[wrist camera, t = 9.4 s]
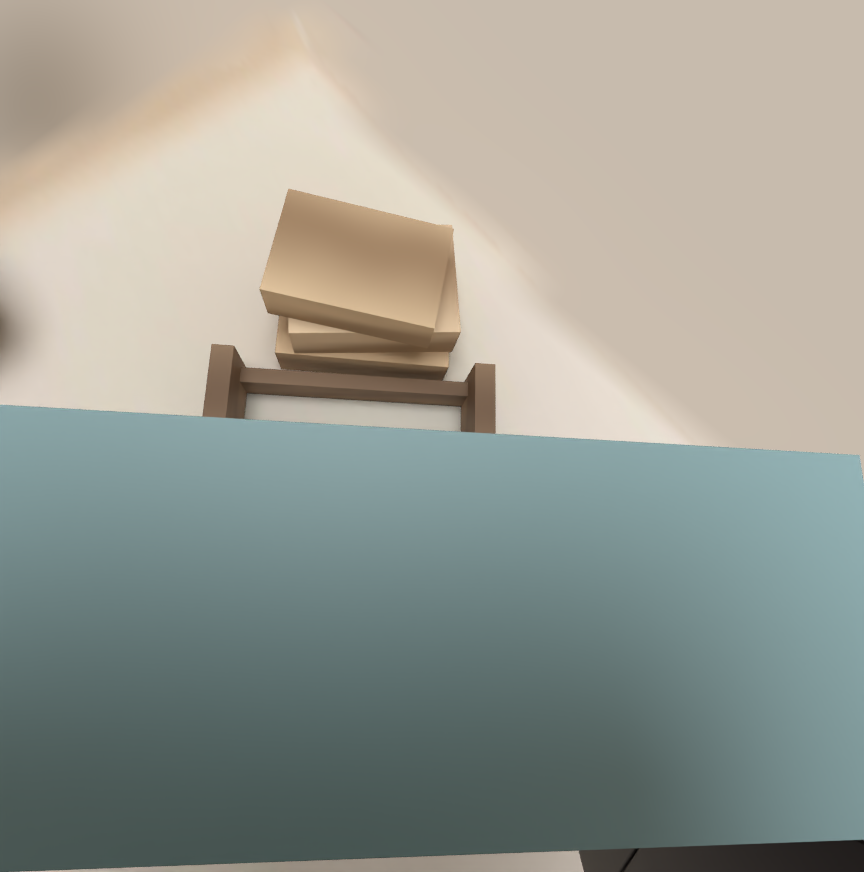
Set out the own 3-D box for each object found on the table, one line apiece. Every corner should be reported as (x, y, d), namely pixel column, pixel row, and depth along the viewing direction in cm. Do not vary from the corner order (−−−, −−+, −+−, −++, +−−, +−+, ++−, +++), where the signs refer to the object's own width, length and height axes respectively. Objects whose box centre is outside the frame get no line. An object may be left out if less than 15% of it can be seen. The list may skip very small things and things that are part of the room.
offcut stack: (444, 385, 25) (469, 332, 19) (280, 371, 24) (256, 311, 18) (447, 277, 26) (472, 197, 20) (292, 260, 25) (274, 172, 19)
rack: (478, 485, 24) (495, 474, 21) (217, 474, 22) (196, 460, 19) (478, 388, 25) (495, 364, 22) (229, 371, 23) (211, 344, 20)
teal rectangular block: (445, 609, 16) (919, 836, 3) (233, 605, 15) (-702, 898, 2) (446, 546, 16) (861, 456, 3) (239, 540, 16) (-467, 379, 2)
